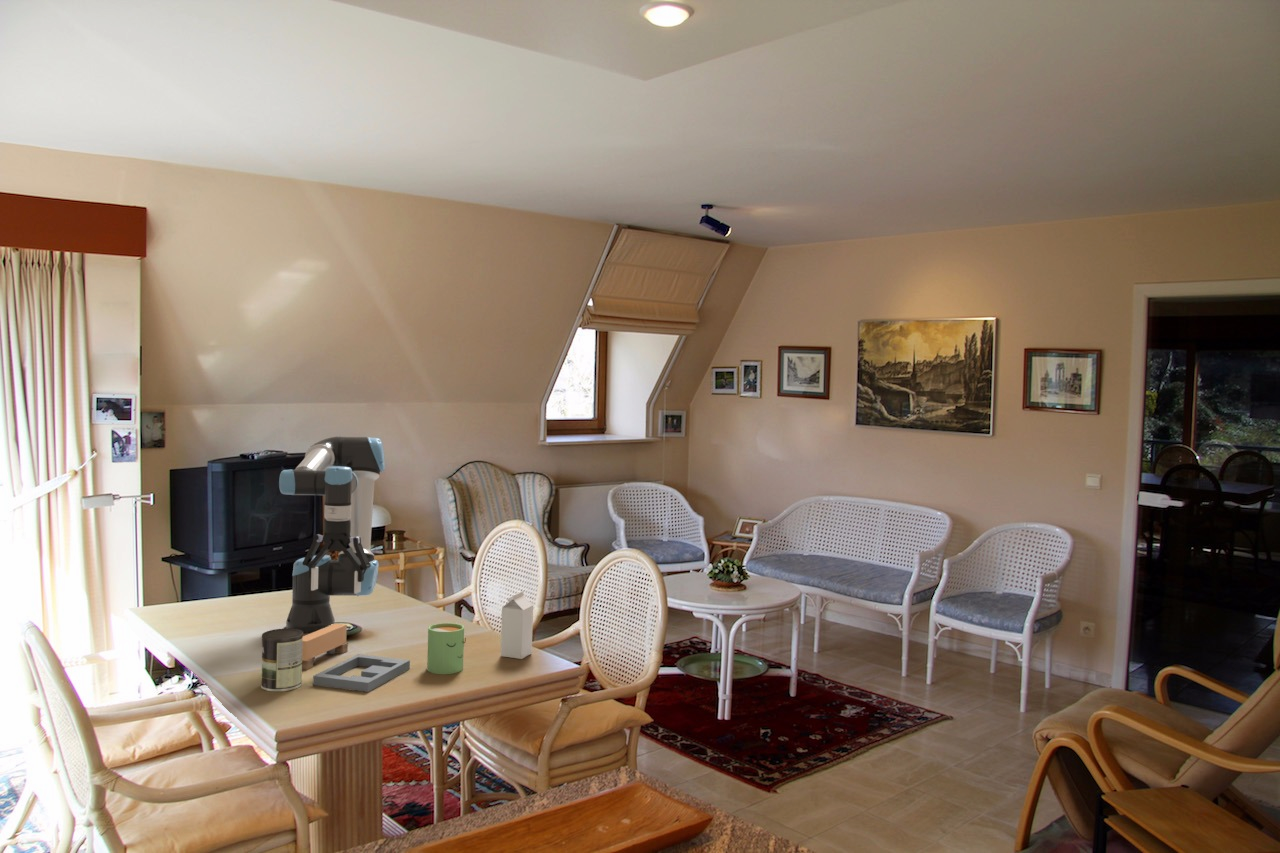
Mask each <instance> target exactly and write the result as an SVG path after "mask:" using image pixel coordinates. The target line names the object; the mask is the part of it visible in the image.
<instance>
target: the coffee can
mask: <svg viewBox="0 0 1280 853" xmlns="http://www.w3.org/2000/svg"><path fill="white" fill-rule="evenodd" d="M303 636H304V632H303V631H301V630H298V629H286V628H276V629H270V630H267V631H264V632H263V633H261V680H260V681H261V683H260V684H261V685H260V688H261V689H262V690H263V691H266V692H275V693H281V692H287V691H294V690H296V689H299V688H301V686H302V685H303V682H302V681H303V680H302V678H303V677H302V676H303V669H302V645H303Z"/></svg>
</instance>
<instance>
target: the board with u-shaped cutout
mask: <svg viewBox="0 0 1280 853" xmlns="http://www.w3.org/2000/svg"><path fill="white" fill-rule="evenodd" d="M410 663H411V661H410V659H403V658H393V657H385V656H376V655H370V654H369V655H368V654H361V653H359V654H356V655H354V656H352V657H350V658H349V657H348V659H346V660H345V659H344V661H341V662H339V663H337V664H335V665H333V666H331V667H329V668H327V669H324V670H322V671H321V672H318V673H316V674H314V675H313V677H312V678H313V679H312V685H313V686H317V685H318V686H319V687H325V688H332V687H334V689H340V688H343V689H342V690H347V689H351V690H350V691H355V690H358V691H357V692H363V691H365V693H369V692H371V691H373V690H374V689H376V688H378V687H380V686H382V685H383V684H385V683H387V682H389V681H391V680H392V679H393V678H396V677H397V676H400V675H401V674H403V673H405V672H406V671H408V670H410V666H411V664H410ZM358 666H359V667H365V669H363V670H361V672H360V676H359V675H351V676H346V675H345V676H344V675H342V674H345V673H347V672H348V671H350V670H353V669H354V668H356V667H358ZM366 667H367V668H366Z"/></svg>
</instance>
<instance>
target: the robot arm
mask: <svg viewBox="0 0 1280 853" xmlns="http://www.w3.org/2000/svg"><path fill="white" fill-rule="evenodd" d="M385 469H386V462H385V452H384V445H383V442H382V440H381V439H380V438H379V437H369V436H367V437H366V436H332V437H327V438H324V439H321V440H319V441H317V442H316V443H314V444H313V445H310V447H309V448H308V449H307V450H306V452H305V454H304V458H303V459H302V461H300V463H299V464H298V465H297V466H296V467H295V469H291V468H290V469H283V470H282V471H281V472H280V473H279V481H278V487H279V491H280V493H281V494H282V495H287V496H288V495H291V496H324V509H323V510H324V519H325V520H324V521H323V535H322V534H321V533H318V534H314V535H313V538H312V543H311V545H310V548H309V549H308V550H307V553H306V554H305V557H302V558H298V559H297V560H295V562H294V563H293V568H292V569H293V570H292V573H291V574H292V575H291V576H292V594H291V596H292V598H291V599H292V601H291V603H292V604H291V606H290V609H289V610H290V611H289V613H288V616H287V618H286V621H285V629H298V630H301V631H303V633H313V632H315V631H318V630H320V629H322V628H323V627H325V626H328V625H331V624H334V623H335V622H336V621H335V620H336V619H335V616H334V614H333V610H332V606H331V601H330V600H331V599H330V598H331V597H333V596H337V597H339V596H342V597H343V596H346V597H347V596H356V597H360V596H370V595H371V594H372V593H373V592H374V590H375V587H376V584H377V579H378V573H379V565H380V564H379V561H378V560H377V559H375V554H374V553H373V551H371V544H372V542H371V541H372V529H373V528H372V527H373V513H374V512H373V511H374V496H375V481H377V480H379V478H380V477H381V476H380V474H381V473H383V472H384V471H385ZM322 542H323V543H324V545H323V546H322V548H321V549H320V551H319V552H318V553H317V554H316V552H317V550H318V548H319V547H320V545H321V543H322ZM329 551H331V552H335V551H336V552H338V555H337V559H332V557H331V556H330V554H329V555H328V552H329ZM335 624H336V623H335Z"/></svg>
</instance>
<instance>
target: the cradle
mask: <svg viewBox="0 0 1280 853" xmlns="http://www.w3.org/2000/svg"><path fill="white" fill-rule="evenodd" d="M348 647H349V643H348V642H346V643H345V644H343V645H340V646H338V647H336V648H335V653H334V654H345V653H347V652H348V651H349V650H348ZM313 667H314V663H313V658H311V659H309V660H307V661H304V660H302V670H306V671H309V670H310V669H313Z"/></svg>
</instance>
